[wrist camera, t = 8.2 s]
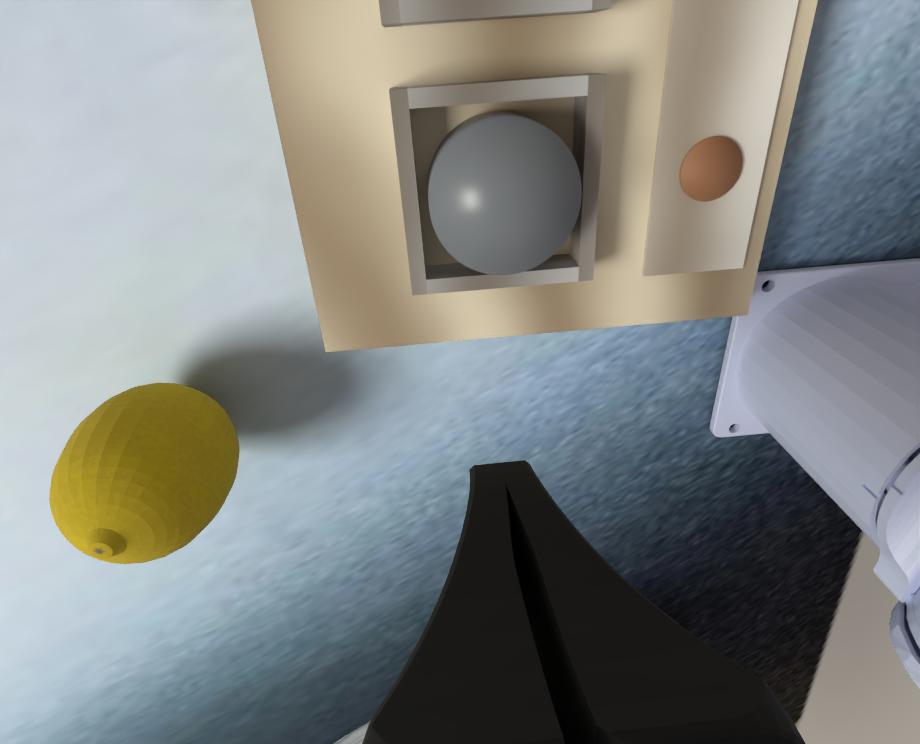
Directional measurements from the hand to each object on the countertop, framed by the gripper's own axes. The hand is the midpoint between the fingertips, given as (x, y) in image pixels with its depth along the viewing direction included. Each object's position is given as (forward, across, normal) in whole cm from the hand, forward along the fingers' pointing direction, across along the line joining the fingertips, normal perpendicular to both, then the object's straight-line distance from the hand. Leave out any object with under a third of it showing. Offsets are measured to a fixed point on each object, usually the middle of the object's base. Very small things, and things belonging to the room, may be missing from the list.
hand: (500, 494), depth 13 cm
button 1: (+8, -1, -5) cm, 10 cm away
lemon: (+11, +12, +3) cm, 16 cm away
